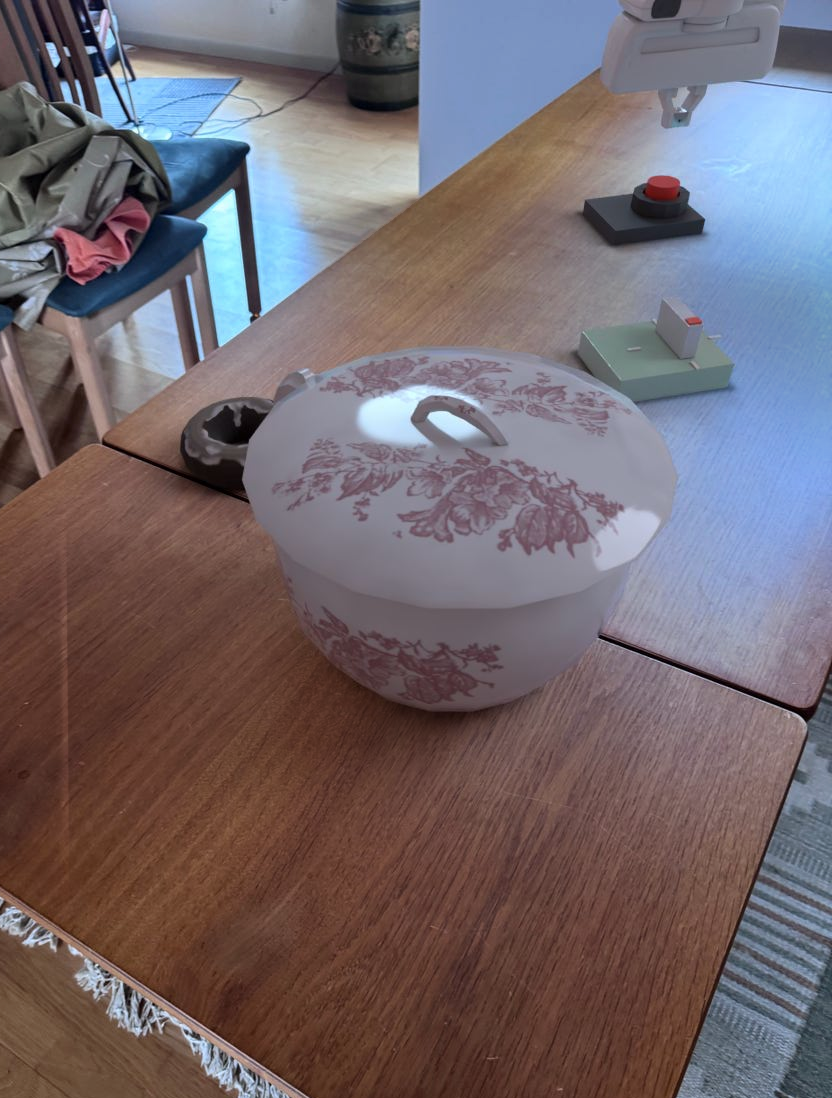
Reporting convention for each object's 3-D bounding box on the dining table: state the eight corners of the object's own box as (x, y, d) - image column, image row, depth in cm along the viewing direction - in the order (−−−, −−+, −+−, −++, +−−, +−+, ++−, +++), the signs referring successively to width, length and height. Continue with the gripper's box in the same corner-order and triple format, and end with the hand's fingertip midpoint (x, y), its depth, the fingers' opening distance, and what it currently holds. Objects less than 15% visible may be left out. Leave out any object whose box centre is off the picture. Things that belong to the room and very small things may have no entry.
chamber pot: (674, 765, 61) (769, 530, 46) (268, 796, 61) (228, 568, 45) (576, 504, 80) (620, 276, 65) (266, 525, 80) (237, 300, 64)
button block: (666, 205, 122) (673, 174, 119) (701, 236, 115) (709, 204, 112) (582, 216, 120) (586, 185, 118) (612, 248, 114) (618, 216, 111)
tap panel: (690, 339, 98) (697, 311, 96) (737, 389, 92) (746, 360, 89) (576, 356, 97) (581, 328, 94) (615, 408, 90) (621, 379, 88)
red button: (668, 187, 117) (671, 173, 116) (682, 200, 114) (685, 185, 113) (639, 191, 117) (642, 177, 115) (653, 203, 114) (656, 189, 113)
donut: (332, 456, 86) (330, 420, 83) (238, 515, 81) (232, 478, 78) (251, 410, 92) (247, 374, 89) (159, 462, 86) (150, 426, 83)
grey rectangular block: (654, 330, 94) (662, 295, 91) (669, 327, 94) (677, 293, 92) (680, 359, 90) (689, 324, 87) (695, 357, 90) (704, 322, 88)
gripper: (776, -26, 103) (740, 108, 113) (606, -11, 100) (586, 125, 111) (806, -13, 99) (766, 126, 109) (630, 4, 96) (606, 144, 106)
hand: (674, 126), depth 110 cm, fingers closed
